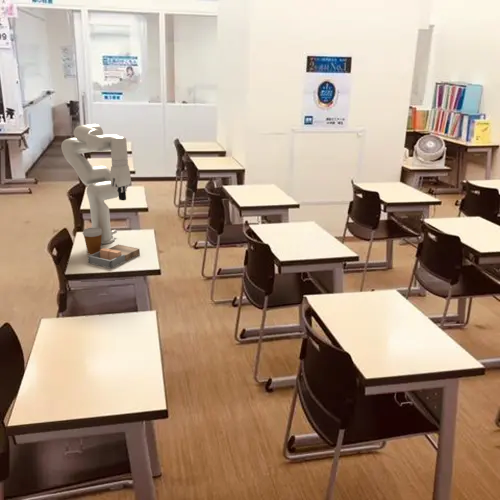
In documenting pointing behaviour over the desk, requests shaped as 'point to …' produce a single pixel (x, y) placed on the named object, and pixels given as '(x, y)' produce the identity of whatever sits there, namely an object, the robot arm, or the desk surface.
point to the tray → (105, 260)
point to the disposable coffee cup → (93, 239)
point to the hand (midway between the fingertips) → (122, 199)
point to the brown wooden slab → (126, 251)
